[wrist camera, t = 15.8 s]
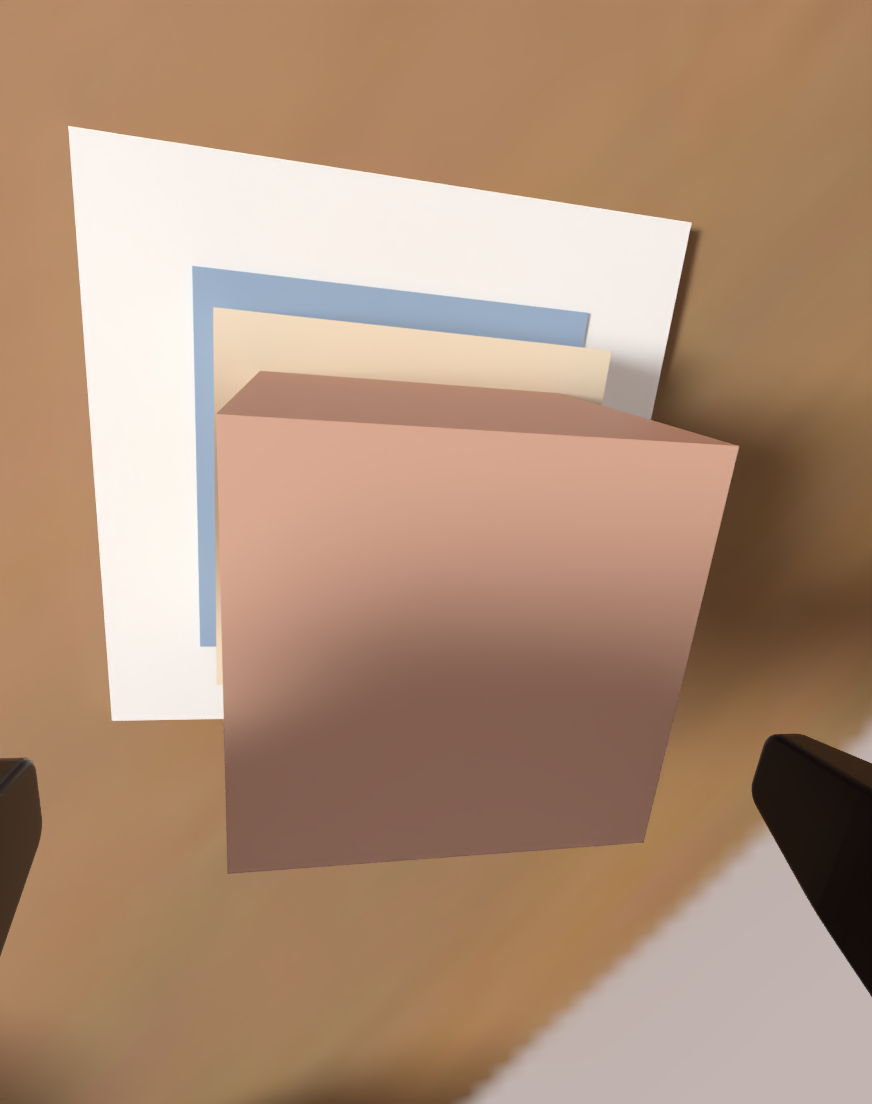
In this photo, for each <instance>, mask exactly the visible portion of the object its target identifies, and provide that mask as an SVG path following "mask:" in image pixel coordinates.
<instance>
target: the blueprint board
mask: <svg viewBox="0 0 872 1104" xmlns="http://www.w3.org/2000/svg"><path fill="white" fill-rule="evenodd" d="M68 128H69V141H70V155H71V169H72V182H73V196H74V209H75V223H76V237H77V250H78V264H79V277H80V291H81V305H82V318H83V332H84V346H85V359H86V373H87V386H88V400H89V414H90V427H91V441H92V454H93V468H94V482H95V495H96V509H97V523H98V536H99V550H100V563H101V577H102V591H103V604H104V618H105V631H106V645H107V659H108V672H109V686H110V700H111V713H112V721H127V720H185V719H224V710H223V685H217V662H216V557H215V452H214V347H213V307H216V308H225V309H235V310H244V311H253V312H262V313H271V314H280V315H290V316H299V317H308V318H317V319H326V320H336V321H345V322H354V323H363V324H372V325H381V326H391V327H400V328H409V329H418V330H427V331H437V332H446V333H455V334H464V335H473V336H482V337H492V338H501V339H510V340H519V341H528V342H538V343H547V344H556V345H565V346H574V347H583V348H593V349H602V350H611V351H612V352H611V358H610V363H609V369H608V374H607V380H606V385H605V391H604V396H603V401H602V406H605V407H609V408H612V409H615V410H619V411H622V412H625V413H629V414H632V415H636V416H639V417H642V418H646V419H649V420H651V417H652V412H653V407H654V402H655V397H656V392H657V388H658V383H659V378H660V373H661V368H662V363H663V359H664V354H665V349H666V344H667V339H668V334H669V330H670V325H671V320H672V315H673V310H674V305H675V301H676V296H677V291H678V286H679V281H680V276H681V271H682V267H683V262H684V257H685V252H686V247H687V242H688V238H689V233H690V228H691V223H690V222H684V221H677V220H671V219H664V218H658V217H652V216H645V215H639V214H632V213H626V212H619V211H613V210H606V209H600V208H593V207H587V206H581V205H574V204H568V203H561V202H555V201H548V200H542V199H535V198H529V197H523V196H516V195H510V194H503V193H497V192H490V191H484V190H477V189H471V188H465V187H458V186H452V185H445V184H439V183H432V182H426V181H419V180H413V179H406V178H400V177H394V176H387V175H381V174H374V173H368V172H361V171H355V170H348V169H342V168H336V167H329V166H323V165H316V164H310V163H303V162H297V161H290V160H284V159H278V158H271V157H265V156H258V155H252V154H245V153H239V152H232V151H226V150H219V149H213V148H207V147H200V146H194V145H187V144H181V143H174V142H168V141H161V140H155V139H149V138H142V137H136V136H129V135H123V134H116V133H110V132H103V131H97V130H91V129H84V128H78V127H71V126H68Z"/></svg>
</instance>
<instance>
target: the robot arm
mask: <svg viewBox="0 0 872 1104" xmlns="http://www.w3.org/2000/svg"><path fill="white" fill-rule="evenodd" d="M752 796H753V800H754V803H755V805H756V807H757V809H758V810H759V812H760V814H761V816H762V818H763V819H764V821H765V823H766V825H767V827H768V828H769V830H770V832H771V834H772V836H773V837H774V839H775V841H776V843H777V844H778V846H779V848H780V850H781V852H782V853H783V855H784V857H785V859H786V860H787V862H788V864H789V866H790V868H791V870H792V871H793V873H794V875H795V877H796V879H797V880H798V882H799V884H800V886H801V887H802V889H803V891H804V893H805V895H806V896H807V898H808V900H809V901H810V903H811V905H812V907H813V908H814V910H815V911H816V913H817V915H818V916H819V918H820V920H821V921H822V923H823V924H824V926H825V927H826V929H827V931H828V932H829V934H830V935H831V937H832V938H833V939H834V941H835V943H836V944H837V946H838V947H839V949H840V950H841V952H842V953H843V954H844V956H845V957H846V959H847V961H848V962H849V964H850V965H851V967H852V968H853V969H854V971H855V972H856V974H857V975H858V977H859V978H860V980H861V981H862V983H863V984H864V986H865V987H866V989H867V990H868V992H869V993H870V995H871V996H872V763H869V762H867V761H865V760H862V759H860V758H857V757H855V756H853V755H850V754H848V753H845V752H843V751H841V750H838V749H836V748H833V747H831V746H829V745H826V744H824V743H822V742H819V741H817V740H814V739H812V738H810V737H807V736H805V735H802V734H775V735H772V736H770V737H769V738H768V739H767V740H766V741H765V743H764V746H763V749H762V752H761V756H760V759H759V762H758V765H757V769H756V772H755V775H754V779H753V782H752ZM41 830H42V816H41V807H40V799H39V791H38V783H37V775H36V769H35V766H34V764H33V762H32V761H31V760H29V759H28V758H0V956H1V953H2V950H3V947H4V944H5V941H6V938H7V935H8V932H9V929H10V926H11V923H12V920H13V918H14V915H15V912H16V909H17V906H18V903H19V900H20V897H21V894H22V891H23V888H24V885H25V883H26V880H27V877H28V874H29V871H30V868H31V865H32V862H33V859H34V856H35V853H36V850H37V848H38V844H39V841H40V836H41Z"/></svg>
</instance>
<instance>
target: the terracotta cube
mask: <svg viewBox="0 0 872 1104" xmlns="http://www.w3.org/2000/svg"><path fill="white" fill-rule="evenodd" d="M216 432H217V472H218V512H219V551H220V591H221V631H222V671H223V710H224V750H225V790H226V830H227V869H228V874H231V873H244V872H257V871H271V870H284V869H297V868H311V867H324V866H337V865H351V864H364V863H377V862H391V861H404V860H417V859H430V858H444V857H457V856H470V855H484V854H497V853H510V852H524V851H537V850H550V849H564V848H577V847H590V846H604V845H617V844H630V843H644V839H645V834H646V830H647V826H648V822H649V818H650V814H651V810H652V805H653V801H654V797H655V793H656V789H657V785H658V781H659V776H660V772H661V768H662V764H663V760H664V756H665V752H666V747H667V743H668V739H669V735H670V731H671V727H672V723H673V718H674V714H675V710H676V706H677V702H678V698H679V694H680V689H681V685H682V681H683V677H684V673H685V669H686V665H687V660H688V656H689V652H690V648H691V644H692V640H693V636H694V631H695V627H696V623H697V619H698V615H699V611H700V607H701V602H702V598H703V594H704V590H705V586H706V582H707V578H708V573H709V569H710V565H711V561H712V557H713V553H714V548H715V544H716V540H717V536H718V532H719V528H720V524H721V519H722V515H723V511H724V507H725V503H726V499H727V495H728V490H729V486H730V482H731V478H732V474H733V470H734V466H735V461H736V457H737V453H738V449H739V446H737V445H734V444H731V443H727V442H724V441H720V440H717V439H714V438H710V437H707V436H704V435H700V434H697V433H693V432H690V431H687V430H683V429H680V428H676V427H673V426H670V425H666V424H663V423H659V422H656V421H653V420H649V419H646V418H642V417H639V416H636V415H632V414H629V413H625V412H622V411H619V410H615V409H612V408H609V407H605V406H602V405H598V404H595V403H592V402H588V401H585V400H581V399H578V398H575V397H571V396H568V395H564V394H561V393H551V392H537V391H524V390H511V389H497V388H484V387H471V386H457V385H444V384H431V383H417V382H404V381H391V380H377V379H364V378H351V377H337V376H324V375H311V374H297V373H284V372H271V371H259V372H258V373H257V374H256V375H255V376H254V377H253V378H252V379H251V380H250V381H249V382H248V383H247V384H246V385H245V386H244V387H243V388H242V389H241V390H240V391H239V392H238V393H237V394H236V395H235V396H234V397H233V398H232V399H231V400H230V401H229V402H228V403H227V404H226V405H225V406H224V407H223V408H222V409H221V410H220V411H219V412H218V413H217V414H216Z"/></svg>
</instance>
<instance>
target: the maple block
mask: <svg viewBox="0 0 872 1104" xmlns="http://www.w3.org/2000/svg"><path fill="white" fill-rule="evenodd" d="M213 347H214V452H215V557H216V662H217V685H223V671H222V631H221V591H220V551H219V512H218V472H217V432H216V414H217V413H218V412H219V411H220V410H221V409H222V408H223V407H224V406H225V405H226V404H227V403H228V402H229V401H230V400H231V399H232V398H233V397H234V396H235V395H236V394H237V393H238V392H239V391H240V390H241V389H242V388H243V387H244V386H245V385H246V384H247V383H248V382H249V381H250V380H251V379H252V378H253V377H254V376H255V375H256V374H257V373H258V372H259V371H271V372H284V373H297V374H311V375H324V376H337V377H351V378H364V379H377V380H391V381H404V382H417V383H431V384H444V385H457V386H471V387H484V388H497V389H511V390H524V391H537V392H551V393H561V394H564V395H568V396H571V397H575V398H578V399H581V400H585V401H588V402H592V403H595V404H598V405H602V401H603V396H604V391H605V385H606V380H607V374H608V369H609V363H610V358H611V352H612V351H611V350H602V349H593V348H583V347H574V346H565V345H556V344H547V343H538V342H528V341H519V340H510V339H501V338H492V337H482V336H473V335H464V334H455V333H446V332H437V331H427V330H418V329H409V328H400V327H391V326H381V325H372V324H363V323H354V322H345V321H336V320H326V319H317V318H308V317H299V316H290V315H280V314H271V313H262V312H253V311H244V310H235V309H225V308H216V307H213Z"/></svg>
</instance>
